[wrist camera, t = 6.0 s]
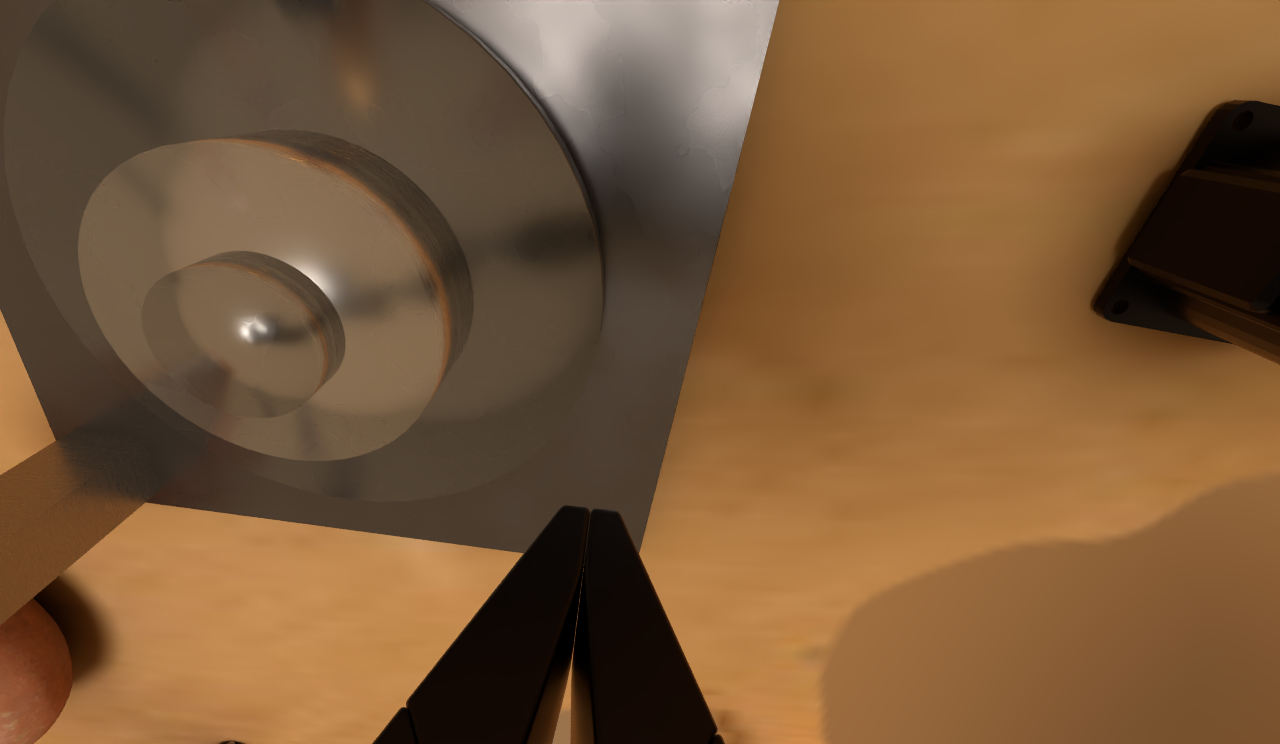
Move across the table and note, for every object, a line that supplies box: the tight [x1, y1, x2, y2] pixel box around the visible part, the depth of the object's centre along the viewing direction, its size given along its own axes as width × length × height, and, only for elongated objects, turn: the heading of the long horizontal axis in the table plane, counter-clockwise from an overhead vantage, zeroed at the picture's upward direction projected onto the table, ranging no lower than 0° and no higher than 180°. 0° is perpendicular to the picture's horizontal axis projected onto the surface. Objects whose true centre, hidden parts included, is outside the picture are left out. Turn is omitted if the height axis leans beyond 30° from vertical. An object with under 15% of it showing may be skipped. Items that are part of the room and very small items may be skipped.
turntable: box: [3, 0, 605, 502], centre depth 13 cm, size 16×22×5 cm
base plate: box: [0, 0, 779, 561], centre depth 17 cm, size 22×22×1 cm
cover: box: [78, 130, 474, 461], centre depth 13 cm, size 8×8×4 cm
